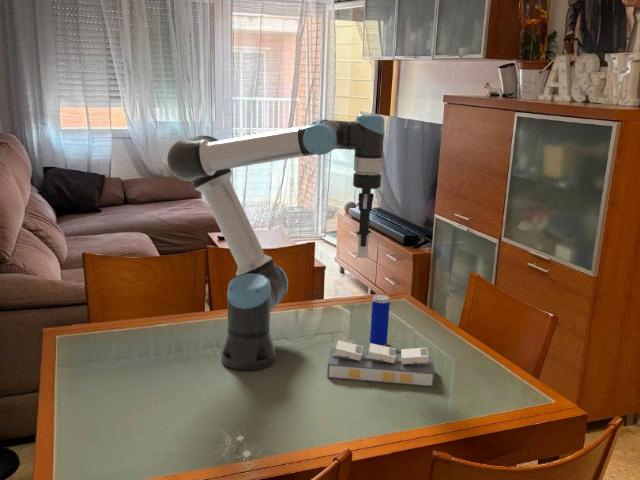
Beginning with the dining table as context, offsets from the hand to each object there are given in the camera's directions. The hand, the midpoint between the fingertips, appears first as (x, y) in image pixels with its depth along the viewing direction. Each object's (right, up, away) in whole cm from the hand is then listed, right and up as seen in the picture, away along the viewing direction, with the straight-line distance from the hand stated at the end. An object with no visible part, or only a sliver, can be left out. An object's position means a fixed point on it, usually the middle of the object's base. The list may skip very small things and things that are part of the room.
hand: (362, 256), depth 172 cm
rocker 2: (+5, -27, -6) cm, 28 cm away
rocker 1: (-4, -26, -5) cm, 27 cm away
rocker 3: (+14, -27, -7) cm, 31 cm away
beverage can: (+6, -27, +15) cm, 31 cm away
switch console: (+4, -32, -5) cm, 32 cm away
